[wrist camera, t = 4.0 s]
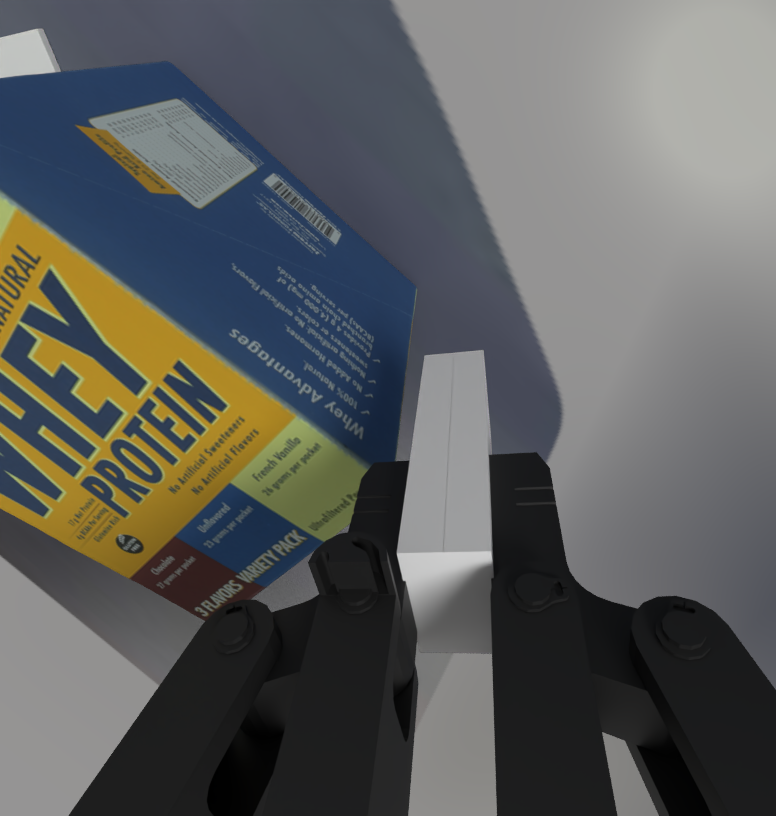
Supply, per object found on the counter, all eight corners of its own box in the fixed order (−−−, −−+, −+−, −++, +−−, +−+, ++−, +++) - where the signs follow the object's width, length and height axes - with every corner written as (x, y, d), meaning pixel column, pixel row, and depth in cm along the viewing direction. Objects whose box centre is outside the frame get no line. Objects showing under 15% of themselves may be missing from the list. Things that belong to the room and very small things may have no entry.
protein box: (303, 404, 34) (215, 633, 21) (69, 228, 29) (-234, 388, 16) (423, 287, 29) (404, 492, 16) (166, 50, 24) (-162, 74, 11)
